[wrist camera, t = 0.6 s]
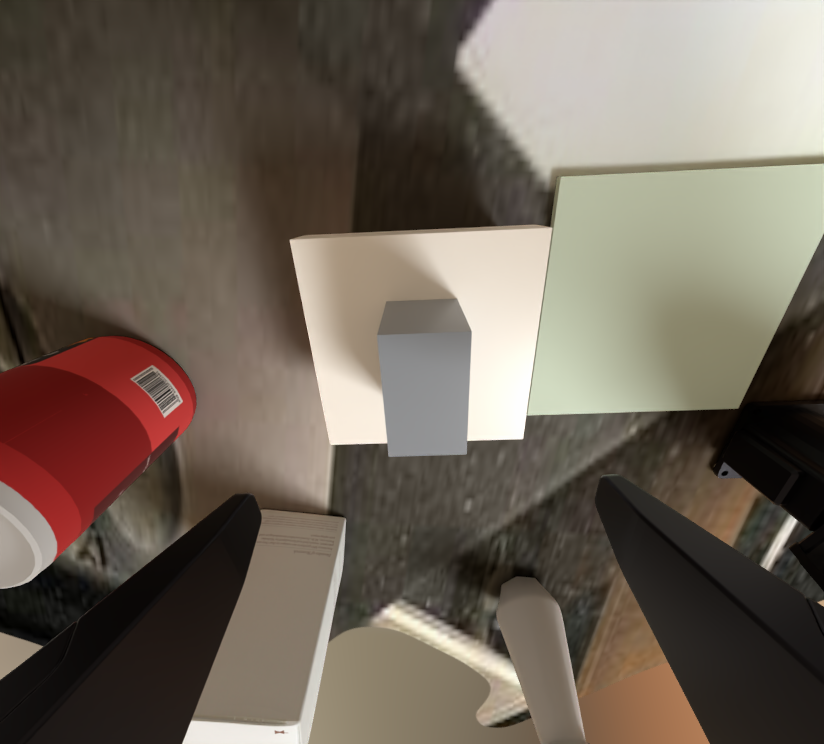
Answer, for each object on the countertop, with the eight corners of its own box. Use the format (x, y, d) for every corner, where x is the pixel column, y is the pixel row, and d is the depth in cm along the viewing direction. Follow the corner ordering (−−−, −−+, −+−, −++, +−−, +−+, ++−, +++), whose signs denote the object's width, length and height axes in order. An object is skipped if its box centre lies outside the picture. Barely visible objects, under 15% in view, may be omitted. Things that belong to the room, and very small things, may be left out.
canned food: (79, 309, 20) (-249, 413, 10) (213, 367, 21) (46, 505, 12) (71, 403, 23) (-186, 554, 13) (189, 447, 25) (39, 610, 15)
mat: (846, 162, 16) (858, 161, 16) (731, 404, 23) (738, 408, 22) (556, 177, 16) (560, 176, 16) (525, 411, 23) (527, 415, 22)
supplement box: (258, 506, 27) (150, 717, 16) (348, 515, 28) (303, 727, 17) (263, 561, 31) (177, 768, 19) (343, 569, 31) (304, 775, 20)
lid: (535, 224, 14) (606, 237, 9) (512, 417, 19) (551, 500, 14) (304, 235, 15) (242, 253, 9) (337, 422, 19) (308, 506, 14)
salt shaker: (562, 578, 32) (648, 795, 20) (533, 609, 34) (594, 818, 23) (507, 565, 31) (563, 784, 19) (481, 598, 33) (517, 810, 22)
